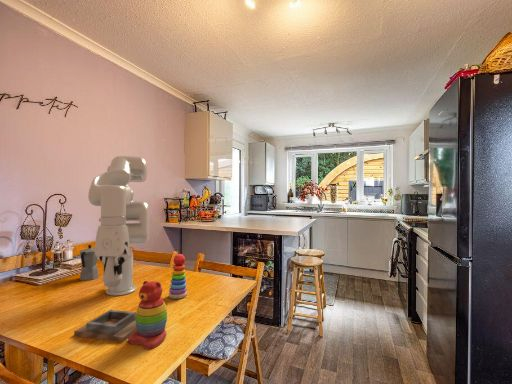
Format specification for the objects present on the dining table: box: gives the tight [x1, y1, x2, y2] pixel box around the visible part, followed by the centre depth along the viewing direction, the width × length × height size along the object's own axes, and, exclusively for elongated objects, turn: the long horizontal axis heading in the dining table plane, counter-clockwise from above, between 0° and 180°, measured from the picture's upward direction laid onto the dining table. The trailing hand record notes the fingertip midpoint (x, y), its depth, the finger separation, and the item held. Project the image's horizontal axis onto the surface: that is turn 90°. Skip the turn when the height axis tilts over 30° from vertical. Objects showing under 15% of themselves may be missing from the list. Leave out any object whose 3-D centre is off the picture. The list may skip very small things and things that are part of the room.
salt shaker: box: [102, 257, 122, 288], centre depth 90 cm, size 6×6×13 cm
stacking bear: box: [127, 280, 168, 350], centre depth 85 cm, size 11×10×18 cm
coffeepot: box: [79, 244, 99, 282], centre depth 144 cm, size 15×9×18 cm, turn 9°
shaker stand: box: [73, 309, 137, 343], centre depth 90 cm, size 18×12×4 cm, turn 78°
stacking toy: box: [168, 253, 188, 300], centre depth 120 cm, size 8×8×19 cm
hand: (112, 275), depth 90 cm, fingers closed on salt shaker, 3 cm apart
